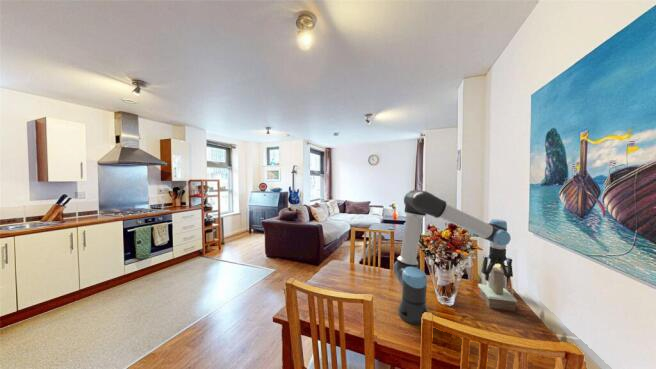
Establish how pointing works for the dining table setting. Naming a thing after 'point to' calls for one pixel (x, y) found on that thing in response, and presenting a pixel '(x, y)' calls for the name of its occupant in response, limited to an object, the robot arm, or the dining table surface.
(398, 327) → the dining table surface
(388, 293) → the dining table surface
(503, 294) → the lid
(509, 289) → the milk carton
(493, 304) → the walnut box
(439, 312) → the dining table surface
